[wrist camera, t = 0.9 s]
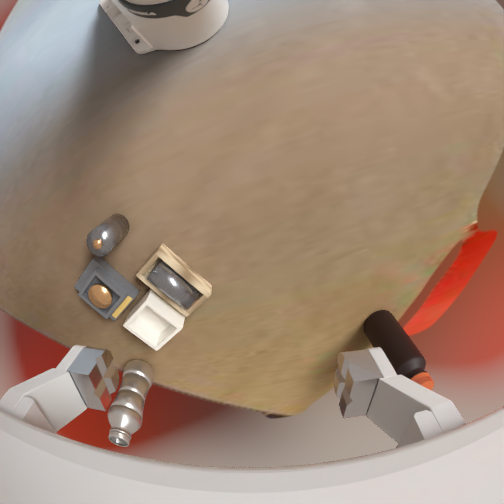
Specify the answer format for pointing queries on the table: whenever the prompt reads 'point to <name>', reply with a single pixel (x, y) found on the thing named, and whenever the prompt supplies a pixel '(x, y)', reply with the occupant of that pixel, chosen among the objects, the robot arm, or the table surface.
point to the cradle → (113, 280)
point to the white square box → (154, 320)
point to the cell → (107, 235)
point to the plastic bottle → (130, 402)
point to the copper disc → (100, 295)
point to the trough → (181, 269)
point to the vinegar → (397, 347)
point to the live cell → (173, 285)
